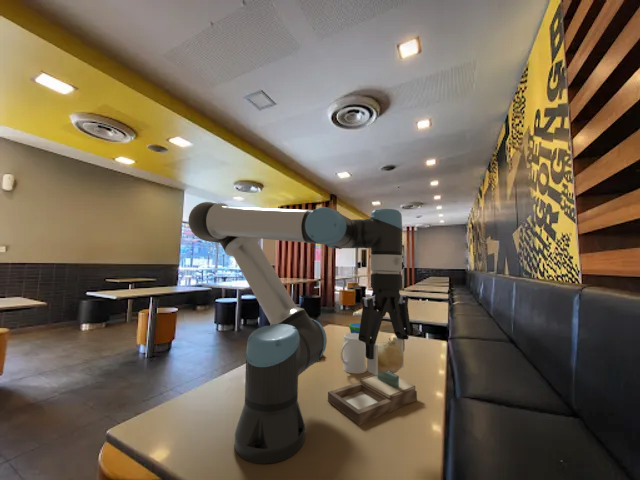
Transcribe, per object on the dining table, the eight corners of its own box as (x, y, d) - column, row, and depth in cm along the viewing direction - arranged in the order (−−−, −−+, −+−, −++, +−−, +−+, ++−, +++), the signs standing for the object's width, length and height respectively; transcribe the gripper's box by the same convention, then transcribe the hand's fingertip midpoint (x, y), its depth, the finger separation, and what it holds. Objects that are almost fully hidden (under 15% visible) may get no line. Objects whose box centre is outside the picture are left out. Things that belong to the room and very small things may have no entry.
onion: (399, 381, 57) (398, 347, 58) (364, 373, 61) (364, 341, 62) (406, 368, 64) (406, 338, 65) (374, 362, 68) (374, 333, 69)
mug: (347, 378, 90) (348, 342, 91) (331, 370, 97) (332, 336, 98) (371, 370, 97) (371, 336, 98) (354, 363, 104) (354, 331, 105)
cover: (389, 398, 71) (389, 383, 72) (361, 382, 80) (361, 369, 81) (415, 388, 77) (415, 374, 78) (386, 375, 86) (386, 362, 87)
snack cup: (344, 342, 130) (344, 321, 131) (364, 341, 133) (364, 321, 134) (355, 353, 115) (355, 329, 116) (378, 351, 117) (378, 328, 118)
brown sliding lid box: (358, 424, 64) (358, 409, 64) (327, 401, 75) (328, 388, 75) (416, 400, 76) (416, 387, 76) (382, 383, 87) (382, 371, 87)
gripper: (365, 273, 56) (363, 385, 54) (426, 273, 67) (426, 366, 65) (343, 271, 62) (341, 372, 60) (402, 272, 73) (402, 356, 72)
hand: (385, 369), depth 63 cm, fingers closed on onion, 8 cm apart
